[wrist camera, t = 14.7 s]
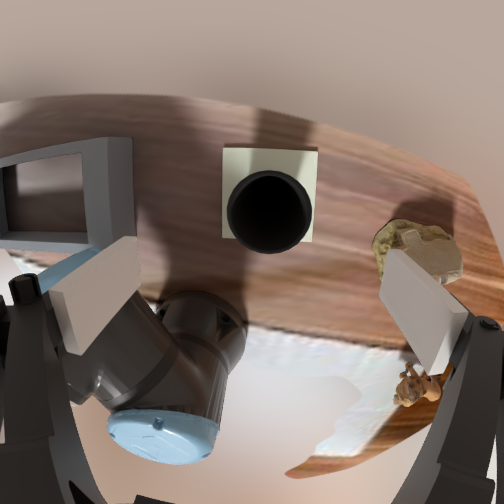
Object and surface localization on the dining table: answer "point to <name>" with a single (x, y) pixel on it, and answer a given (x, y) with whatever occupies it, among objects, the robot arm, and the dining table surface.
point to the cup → (269, 212)
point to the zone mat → (259, 159)
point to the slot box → (95, 197)
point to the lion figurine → (415, 388)
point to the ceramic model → (420, 249)
